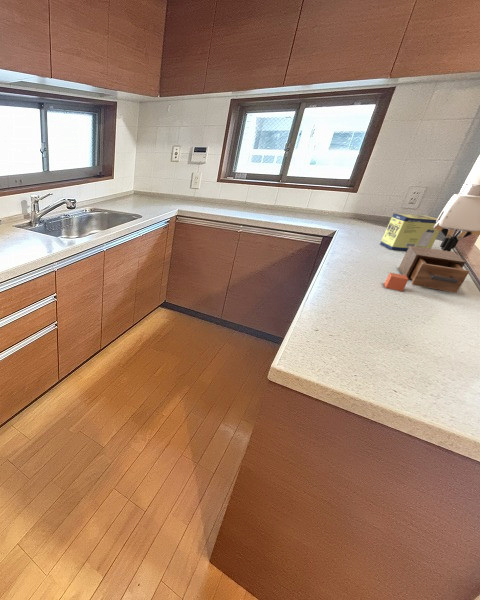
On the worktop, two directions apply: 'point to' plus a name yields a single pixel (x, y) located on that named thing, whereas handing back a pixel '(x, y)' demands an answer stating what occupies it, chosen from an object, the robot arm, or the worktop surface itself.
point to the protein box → (410, 232)
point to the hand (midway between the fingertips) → (445, 249)
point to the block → (396, 281)
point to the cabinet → (427, 253)
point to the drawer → (438, 274)
